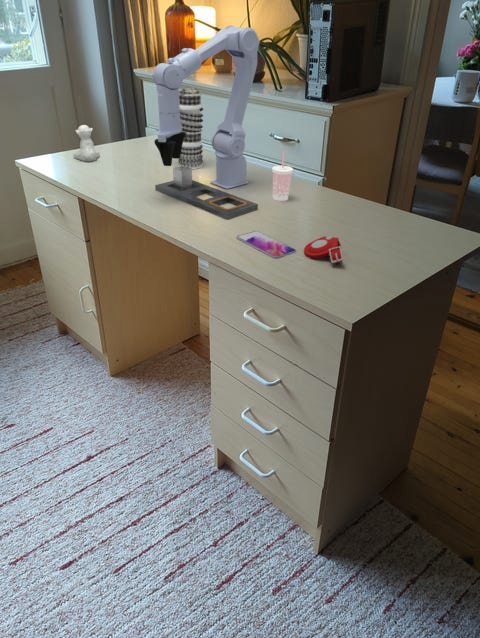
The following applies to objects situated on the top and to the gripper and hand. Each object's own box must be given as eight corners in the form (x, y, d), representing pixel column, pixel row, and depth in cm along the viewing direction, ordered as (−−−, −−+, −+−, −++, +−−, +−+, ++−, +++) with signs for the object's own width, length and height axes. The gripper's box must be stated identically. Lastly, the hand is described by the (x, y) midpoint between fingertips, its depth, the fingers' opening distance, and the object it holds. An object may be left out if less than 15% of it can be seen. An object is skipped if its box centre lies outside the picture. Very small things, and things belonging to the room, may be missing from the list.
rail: (185, 182, 166) (185, 176, 165) (257, 209, 147) (257, 203, 146) (155, 190, 159) (155, 184, 158) (227, 219, 140) (227, 213, 139)
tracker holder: (294, 250, 123) (318, 229, 128) (299, 266, 125) (322, 245, 130) (337, 255, 114) (360, 232, 119) (341, 272, 117) (364, 249, 122)
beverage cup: (294, 198, 156) (298, 151, 148) (281, 203, 152) (285, 155, 145) (279, 193, 159) (282, 147, 152) (266, 198, 156) (268, 150, 148)
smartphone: (256, 230, 134) (297, 250, 124) (256, 233, 134) (297, 253, 124) (235, 236, 130) (275, 257, 120) (234, 239, 130) (275, 260, 120)
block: (184, 188, 162) (183, 165, 158) (192, 191, 159) (191, 168, 155) (173, 190, 159) (172, 167, 155) (182, 194, 157) (181, 170, 153)
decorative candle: (189, 160, 187) (187, 85, 174) (209, 165, 183) (208, 88, 169) (172, 166, 181) (168, 88, 167) (192, 171, 176) (190, 92, 163)
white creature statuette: (99, 155, 190) (95, 121, 184) (104, 161, 183) (100, 126, 177) (73, 157, 187) (68, 122, 180) (77, 163, 180) (72, 128, 174)
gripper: (164, 106, 149) (167, 154, 156) (145, 116, 137) (149, 167, 144) (188, 107, 148) (189, 156, 155) (171, 118, 136) (173, 169, 143)
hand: (171, 161), depth 150 cm, fingers open, 7 cm apart
